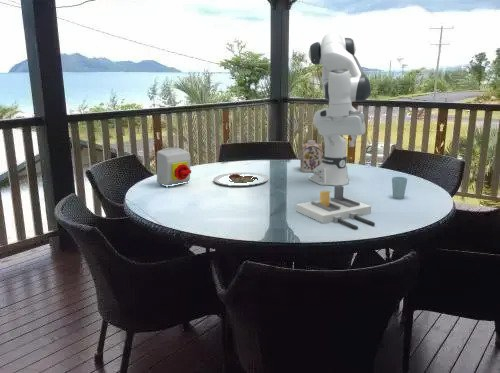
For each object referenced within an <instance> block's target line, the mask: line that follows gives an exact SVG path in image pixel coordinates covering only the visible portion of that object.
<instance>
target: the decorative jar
mask: <svg viewBox="0 0 500 373" xmlns="http://www.w3.org/2000/svg"><path fill="white" fill-rule="evenodd" d="M322 156H323V147H322V144H321V143H318V142H316V140H307V142H305V143H301V145H300V170H301V172H302V171H303V172H302V173H314V169H315V168H316V167H317V166H319V165H320V164H321V163H322V160H323V159H321V158H323V157H322Z"/></svg>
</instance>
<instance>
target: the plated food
mask: <svg viewBox="0 0 500 373" xmlns="http://www.w3.org/2000/svg"><path fill="white" fill-rule="evenodd" d="M242 174H244V175H245V174H250V175H258V176H261V177H263V178H264V180H263V181H262V182H259V183H256V184H257V185H259V184H263V183H265V182H268V180H269V178H270V177H269V176H267V175H266V174H263V173H257V172H230V173H229V172H228V173H224V174H220V175H217V176H214V178H213V182H215V183H216V184H219V185H223V186H227V185H228V184H223V183H220V182H219V181H218V180H219V179H220V178H222V177H224V176H228V175H230V176H229V178H230V179H231V180H232V181H230V180H229V181H230V182H234V183H247V182H253V181H254V180H255V179H257V180H258V178H257V177H253V176H244V177H243V176H240V175H242ZM252 177H253V178H252ZM251 178H252V179H251ZM253 179H254V180H253ZM249 185H252V186H256V185H255V184H249ZM230 187H248V186H247V185H231V186H230Z"/></svg>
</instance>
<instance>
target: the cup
mask: <svg viewBox="0 0 500 373" xmlns="http://www.w3.org/2000/svg"><path fill="white" fill-rule="evenodd" d="M407 183H408V177H404V176H393V177H391V184H392V185H391V188H392V198H393V199H398V200H401V199H405V194H406V188H407Z"/></svg>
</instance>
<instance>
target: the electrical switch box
mask: <svg viewBox="0 0 500 373" xmlns="http://www.w3.org/2000/svg"><path fill="white" fill-rule="evenodd" d="M191 173H192V170H191V153H190V152H189V151H187V150H185V149H183V148H180V147H167V148H162V149H160V150H158V151H157V152H156V182H157V184H159V183H161V184H164V185H172V184H178V183H183V182H188V181H189V182H190V179H191ZM161 184H160V185H161Z"/></svg>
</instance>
